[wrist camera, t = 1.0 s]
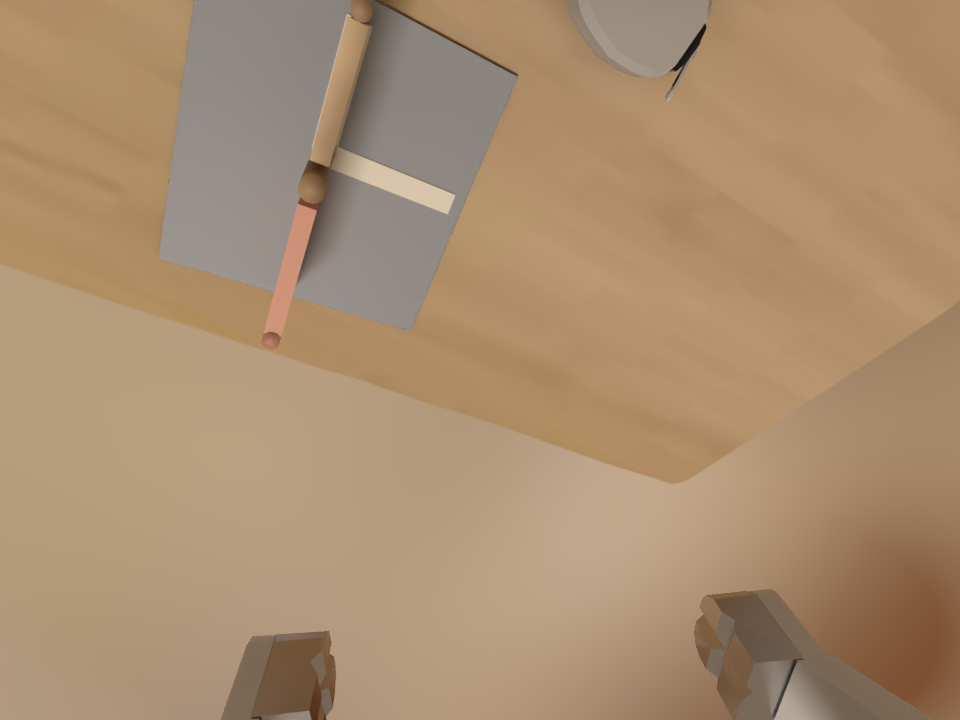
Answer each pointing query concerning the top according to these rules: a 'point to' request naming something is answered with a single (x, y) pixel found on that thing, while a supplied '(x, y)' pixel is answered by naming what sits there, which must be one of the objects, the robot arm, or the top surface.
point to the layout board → (357, 154)
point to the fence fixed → (335, 103)
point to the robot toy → (643, 33)
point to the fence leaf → (289, 272)
